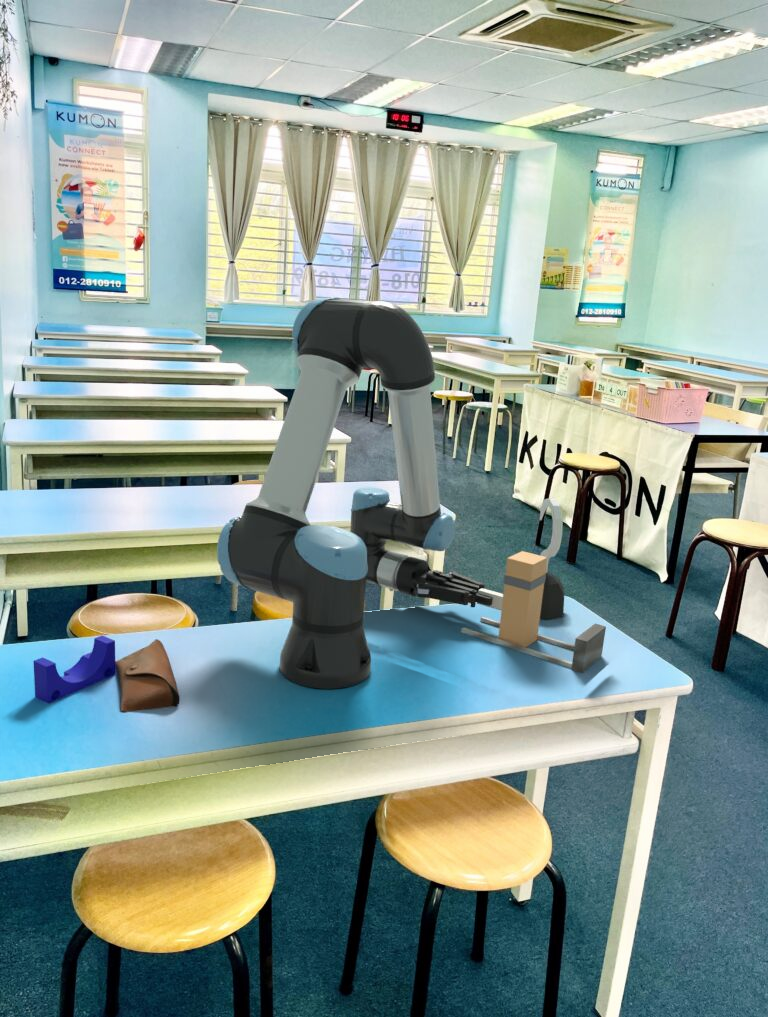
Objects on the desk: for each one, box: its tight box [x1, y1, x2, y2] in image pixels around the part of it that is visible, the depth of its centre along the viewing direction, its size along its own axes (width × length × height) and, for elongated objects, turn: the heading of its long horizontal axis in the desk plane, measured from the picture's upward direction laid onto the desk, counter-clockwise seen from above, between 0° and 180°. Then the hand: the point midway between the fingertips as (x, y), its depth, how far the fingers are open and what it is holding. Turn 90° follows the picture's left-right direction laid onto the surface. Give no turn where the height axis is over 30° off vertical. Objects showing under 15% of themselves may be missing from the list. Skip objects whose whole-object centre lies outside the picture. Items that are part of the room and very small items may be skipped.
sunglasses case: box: [115, 638, 181, 713], centre depth 120 cm, size 18×7×7 cm
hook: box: [539, 497, 565, 621], centre depth 156 cm, size 11×11×25 cm
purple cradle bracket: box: [33, 635, 117, 704], centre depth 118 cm, size 12×4×6 cm, turn 148°
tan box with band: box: [498, 550, 547, 648], centre depth 141 cm, size 5×6×16 cm
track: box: [460, 616, 607, 674], centre depth 141 cm, size 24×9×7 cm, turn 54°
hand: (510, 604), depth 144 cm, fingers closed
